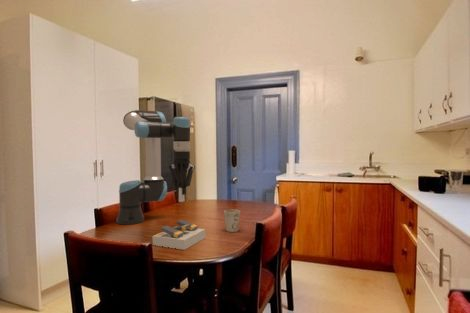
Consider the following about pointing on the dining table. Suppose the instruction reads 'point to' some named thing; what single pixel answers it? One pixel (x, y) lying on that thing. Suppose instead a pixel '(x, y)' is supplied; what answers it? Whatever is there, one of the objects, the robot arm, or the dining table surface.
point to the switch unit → (179, 239)
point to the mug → (232, 219)
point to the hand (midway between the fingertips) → (181, 201)
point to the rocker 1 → (172, 231)
